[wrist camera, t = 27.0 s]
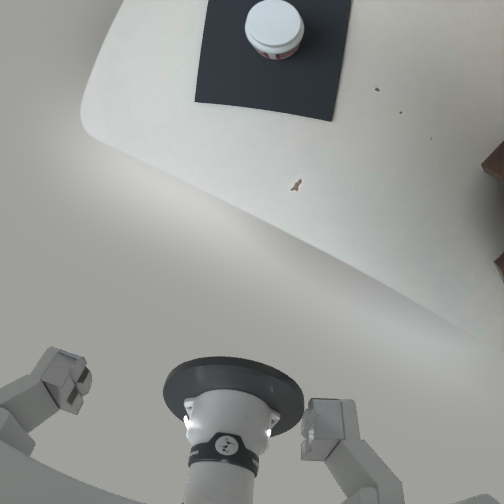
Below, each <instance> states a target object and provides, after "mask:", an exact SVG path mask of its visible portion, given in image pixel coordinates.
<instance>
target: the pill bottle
mask: <svg viewBox="0 0 504 504" xmlns="http://www.w3.org/2000/svg"><path fill="white" fill-rule="evenodd" d="M245 33H246V36H247V38H248V40H249V42H250V43H251V44H252V45H253V47H254V48H255V49H256V50H257V52H258V53H260V54H261V55H262V56H264V57H266V58H269V59H275V60H277V59H284V58H287V57H289V56H291V55H292V54H293V53H294V52H295V51H296V50H297V49H298V47H299V45H300V42H301V39H302V37H303V33H304V24H303V20H302V18H301V16H300V15H299V13H298V11H297V10H296V9H295V7H293V6H292V5H291V4H289V3H288V2H286V1H283V0H264V1H261V2H259V3H257V4H256V5H255V6H253V7H252V9H251V10H250V11H249V13H248V16H247V20H246V23H245Z"/></svg>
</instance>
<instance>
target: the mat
mask: <svg viewBox="0 0 504 504" xmlns="http://www.w3.org/2000/svg"><path fill="white" fill-rule="evenodd" d="M261 1H264V0H209V1H208V7H207V13H206V20H205V26H204V33H203V39H202V46H201V54H200V61H199V69H198V77H197V85H196V94H195V102H201V103H213V104H223V105H232V106H241V107H249V108H256V109H263V110H270V111H277V112H283V113H289V114H294V115H300V116H305V117H311V118H316V119H321V120H325V121H330V122H331V120H332V115H333V109H334V104H335V98H336V93H337V87H338V81H339V76H340V70H341V64H342V57H343V51H344V45H345V38H346V32H347V25H348V18H349V10H350V3H351V0H283V1H286V2H288V3H289V4H291V5H292V6H293V7H295V9H296V10H297V11H298V13H299V15H300V16H301V18H302V20H303V24H304V33H303V37H302V39H301V42H300V45H299V47H298V49H297V50H296V51H295V52H294V53H293V54H292V55H291V56H289V57H287V58H284V59H277V60H275V59H269V58H266V57H264V56H262V55H261V54H260V53H258V52H257V50H256V49H255V48H254V47H253V45H252V44H251V43H250V42H249V40H248V38H247V36H246V33H245V23H246V20H247V16H248V13H249V11H250V10H251V9H252V7H253V6H255V5H256V4H257V3H259V2H261Z"/></svg>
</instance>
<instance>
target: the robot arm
mask: <svg viewBox="0 0 504 504" xmlns="http://www.w3.org/2000/svg"><path fill="white" fill-rule="evenodd" d="M86 364H87V363H86V360H85V358H84V357H81V356H78V355H75V354H72V353H68V352H66V351H63V350H61V349H57V348H55V347H49V348H48V349H47V350H46V351H45V353H44V355H43V356H42V357H41V359H40V360H39V362H38V363H37V365H36V366H35V368H34V369H33V371H32V372H31V374H30V375H25V376H23V377H21V378H19V379H17V380H16V381H14V382H12V383H10V384H8V385H6V386H4V387H2V388H0V504H145V503H141V502H138V501H135V500H131V499H128V498H125V497H122V496H119V495H116V494H113V493H110V492H107V491H105V490H102V489H99V488H97V487H94V486H91V485H89V484H86V483H84V482H82V481H79V480H77V479H75V478H72V477H70V476H68V475H66V474H63V473H61V472H59V471H57V470H55V469H53V468H51V467H48V466H47V465H45V464H43V463H41V462H39V461H37V460H35V459H33V458H31V457H30V455H31V453H32V451H33V449H34V446H35V441H34V440H33V439H32V438H31V437H30V436H29V434H28V433H29V432H30V431H32V430H33V429H34V428H36V427H37V426H38V425H40V424H41V423H42V422H44V421H45V420H47V419H48V418H49V417H50V416H52V415H53V414H55V413H56V412H57V411H59V409H62V410H65V411H67V412H70V413H73V414H75V415H77V414H78V412H79V410H80V408H81V406H82V404H83V397H82V396H84V395H86V394H87V393H88V392H89V390H90V388H91V383H92V375H91V373H90V370H88V368H87V367H86ZM184 406H185V408H186V411H187V413H188V415H189V422H188V420H187V417H186V416H184V421H185V424H186V426H187V433H186V437H187V438H188V440H189V442H190V443H191V444H192V446H193V447H192V448H191V452H190V455H189V463H188V466H189V468H190V469H189V474H188V479H187V483H186V488H185V492H184V497H183V503H182V504H252V502H253V487H254V478H255V477H256V476H257V472H258V469H259V465H258V464H259V458H258V457H259V456H260V455H261V454H263V453H264V452H265V450H267V449H268V446H269V438H270V433H271V429H272V428H273V426H274V425H275V424H276V423H277V422H278V421H279V420H280V416H281V415H280V413H278V412H276V411H274V410H272V409H271V408H269V407H268V405H267V404H266V403H265V402H264V401H263V400H261V399H260V398H258V397H256V396H254V395H252V394H249V393H246V392H242V391H237V390H230V389H217V390H211V391H207V392H204V393H202V394H201V395H199V396H197V397H191V398H186V399H185V400H184ZM301 434H302V435H303V437H304V440H303V442H302V444H301V460H307V461H308V460H309V461H325V464H326V466H327V467H328V469H329V470H330V472H331V473H332V475H333V477H334V478H335V480H336V481H337V483H338V484H339V486H340V487H341V489H342V490H343V492H344V493H345V495H346V496H347V498H348V499H346V500H345V501H344V502H342V503H341V504H404V495H403V489H402V482H401V481H400V480H399V479H398V478H397V477H396V476H395V474H394V473H393V472H392V471H391V470H390V469H389V468H388V467H387V465H386V464H385V463H384V462H383V461H382V460H381V458H380V457H379V456H378V455H377V454H376V453H375V452H374V450H373V449H372V448H371V447H370V446H369V445H368V444H367V442H366V441H365V440H360V433H359V425H358V418H357V411H356V405H355V402H354V400H347V399H320V398H311V399H310V401H309V403H308V409H306V410H305V412H304V414H303V418H302V425H301ZM452 504H500V503H499V502H498V501H497V500H495V499H494V498H493V497H492V496H490V495H488V494H481V495H477V496H474V497H471V498H468V499H466V500H462V501H459V502H456V503H452Z"/></svg>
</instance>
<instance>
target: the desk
mask: <svg viewBox="0 0 504 504" xmlns="http://www.w3.org/2000/svg"><path fill="white" fill-rule="evenodd" d="M481 166H482V167H483V169H484V171H485V172H486V173H488V174H490V175H491V176H493V177H495V178H497V179H498V180H500V181H501V182H503V183H504V141H503V142H502V143H501V144H500V146H499V147H498V148H497V149H496V150H495V151H494V152H493V153H492V154H491V155H490V156H489V157H488V158H487V159H486V160H485V161H484V162H483V163H482V164H481ZM494 263H495V265H496V267H497V269H498V271H499V274H500V276H501V278H502V280H503V282H504V253H503V254H501V255H500V256H499V257H498V258H497V259H496V260H495V261H494Z"/></svg>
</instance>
